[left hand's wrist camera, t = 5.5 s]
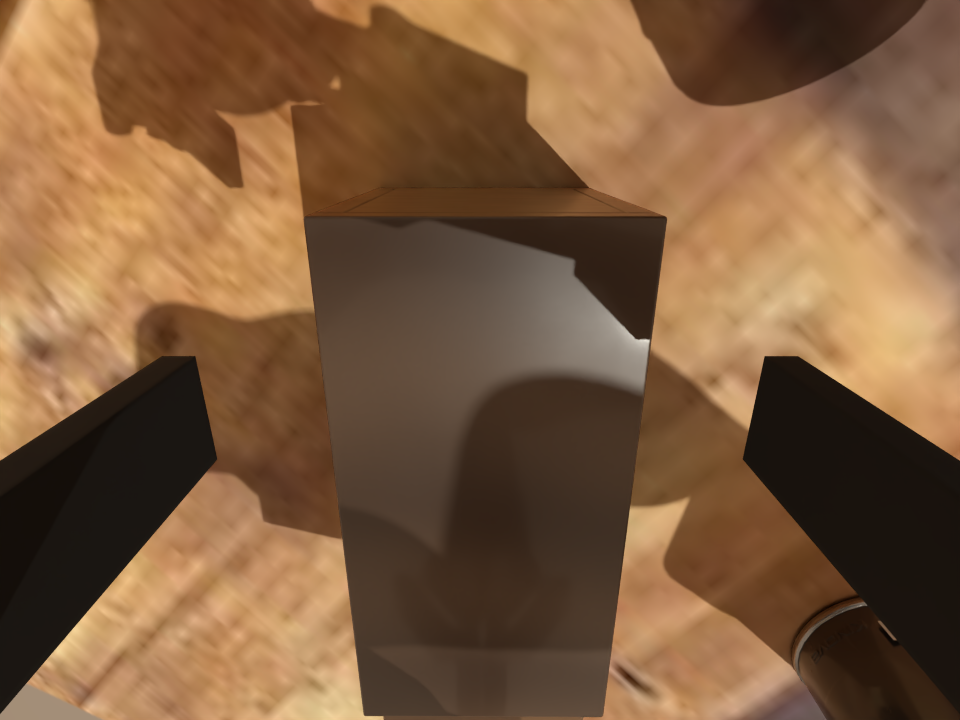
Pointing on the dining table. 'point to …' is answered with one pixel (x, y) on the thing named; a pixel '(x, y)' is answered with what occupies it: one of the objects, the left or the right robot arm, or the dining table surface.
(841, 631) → the right robot arm
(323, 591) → the dining table surface
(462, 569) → the cabinet
